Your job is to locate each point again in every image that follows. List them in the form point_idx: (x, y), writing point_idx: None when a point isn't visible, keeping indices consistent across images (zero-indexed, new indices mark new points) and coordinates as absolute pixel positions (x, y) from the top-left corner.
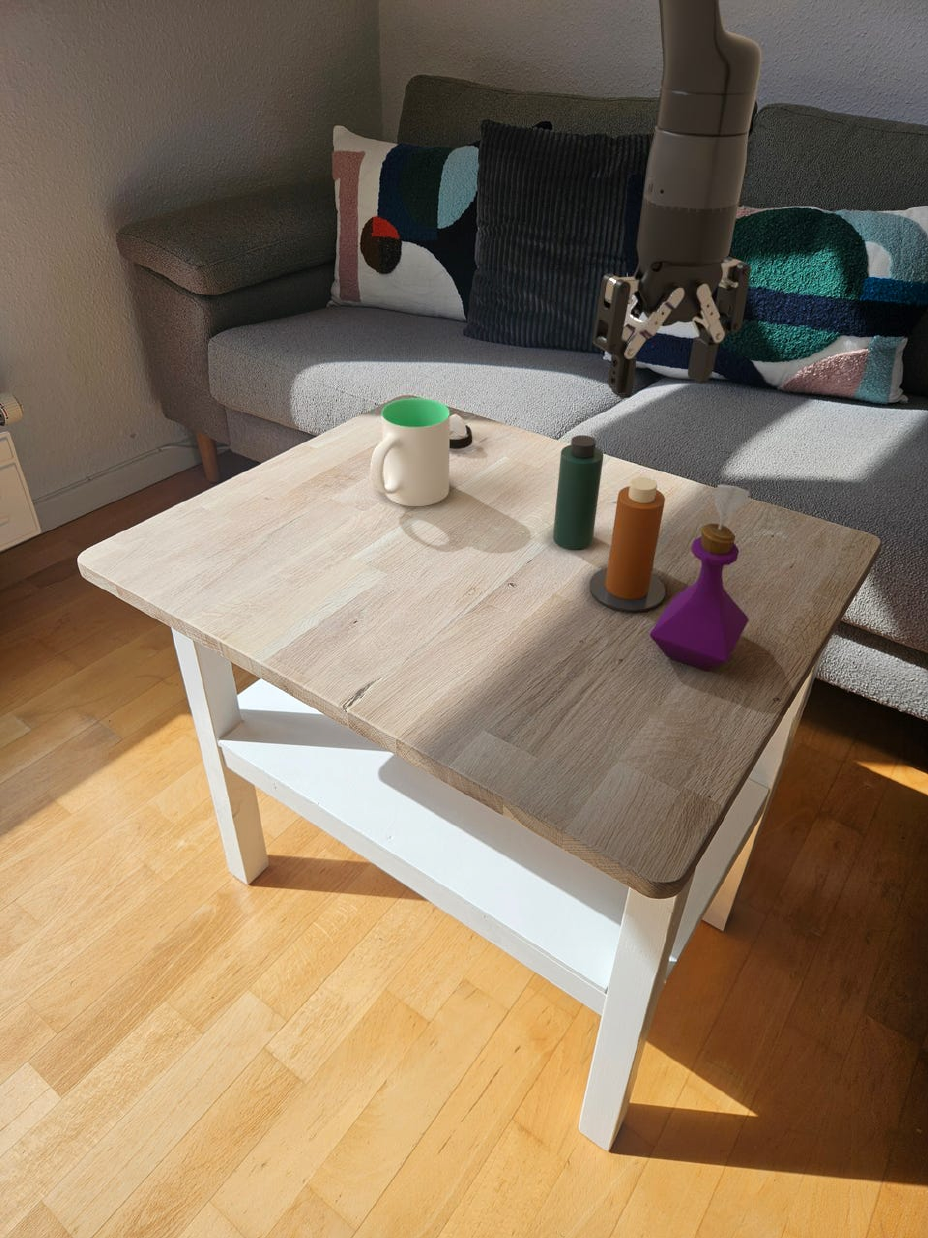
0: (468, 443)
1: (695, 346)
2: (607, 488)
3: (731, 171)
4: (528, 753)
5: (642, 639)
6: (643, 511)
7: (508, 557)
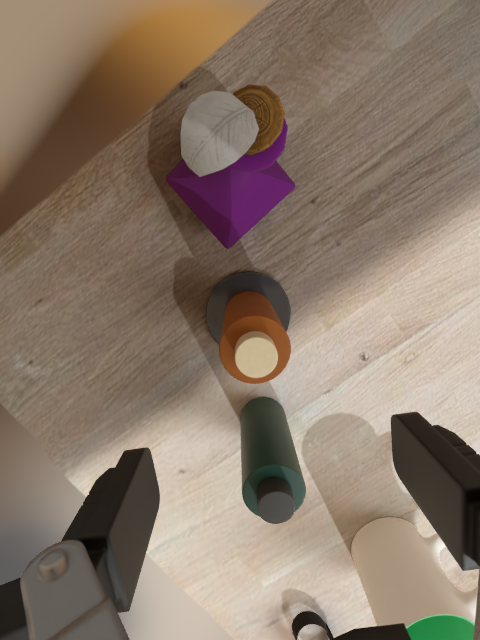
0: (300, 616)
1: (134, 569)
2: (177, 499)
3: None
4: (471, 92)
5: (273, 227)
6: (268, 316)
7: (345, 404)
